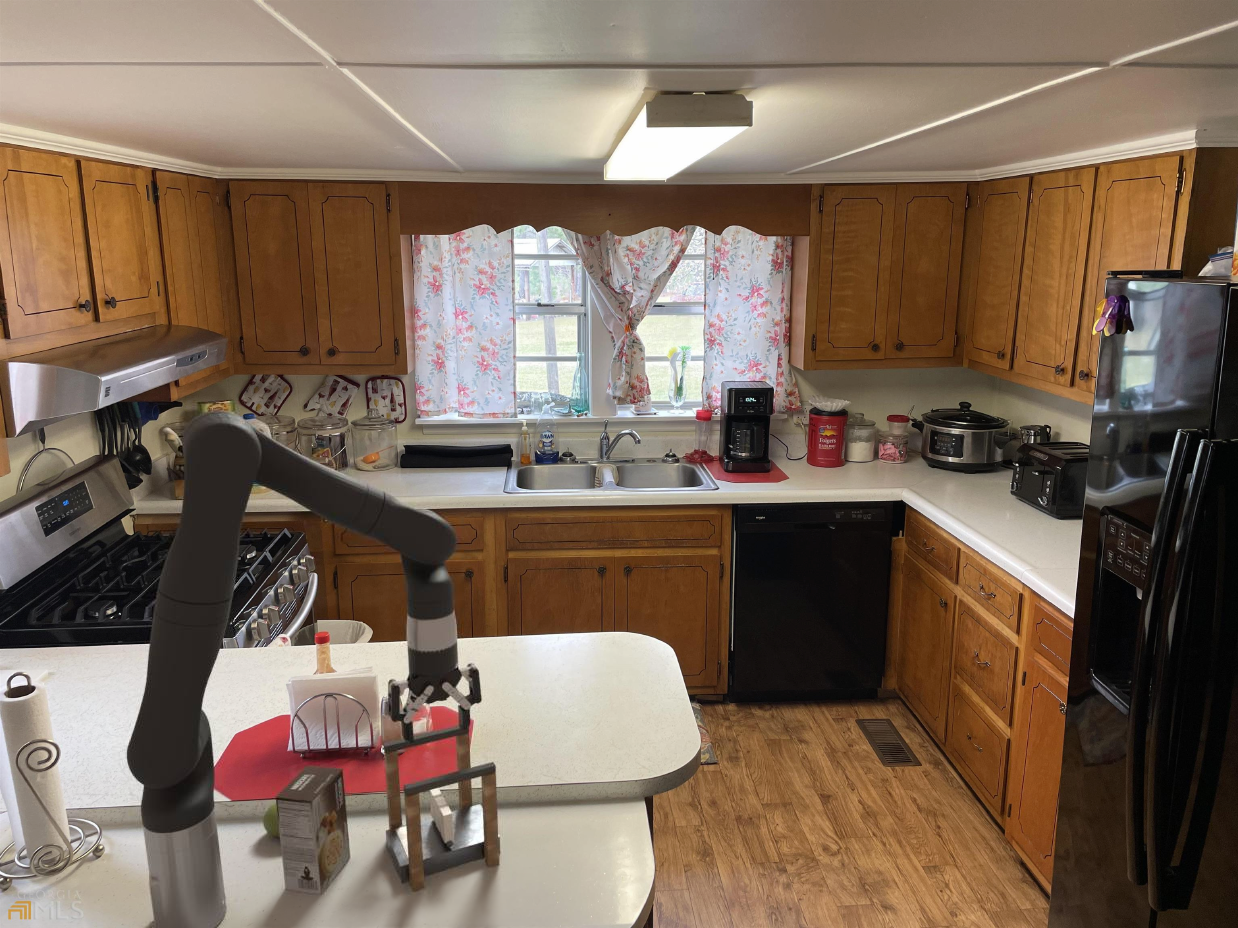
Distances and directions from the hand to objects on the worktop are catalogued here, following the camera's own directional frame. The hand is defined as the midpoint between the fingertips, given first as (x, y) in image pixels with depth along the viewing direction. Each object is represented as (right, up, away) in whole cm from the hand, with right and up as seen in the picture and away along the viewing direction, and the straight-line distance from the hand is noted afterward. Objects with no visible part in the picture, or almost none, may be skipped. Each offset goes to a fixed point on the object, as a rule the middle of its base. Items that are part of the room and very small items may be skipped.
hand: (437, 734), depth 142 cm
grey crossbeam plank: (+3, -6, -5) cm, 8 cm away
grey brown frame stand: (0, -20, +4) cm, 21 cm away
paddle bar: (0, -17, +4) cm, 17 cm away
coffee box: (-18, -22, -1) cm, 28 cm away
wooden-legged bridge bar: (-3, -3, +7) cm, 8 cm away
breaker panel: (0, -20, +4) cm, 21 cm away
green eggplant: (-26, -20, +8) cm, 33 cm away
